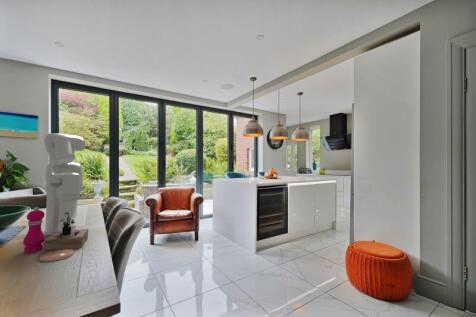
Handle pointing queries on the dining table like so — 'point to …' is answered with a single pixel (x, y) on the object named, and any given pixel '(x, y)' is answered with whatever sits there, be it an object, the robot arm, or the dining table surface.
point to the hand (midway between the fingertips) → (68, 233)
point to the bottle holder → (65, 241)
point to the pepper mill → (34, 232)
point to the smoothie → (73, 227)
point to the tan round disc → (56, 255)
